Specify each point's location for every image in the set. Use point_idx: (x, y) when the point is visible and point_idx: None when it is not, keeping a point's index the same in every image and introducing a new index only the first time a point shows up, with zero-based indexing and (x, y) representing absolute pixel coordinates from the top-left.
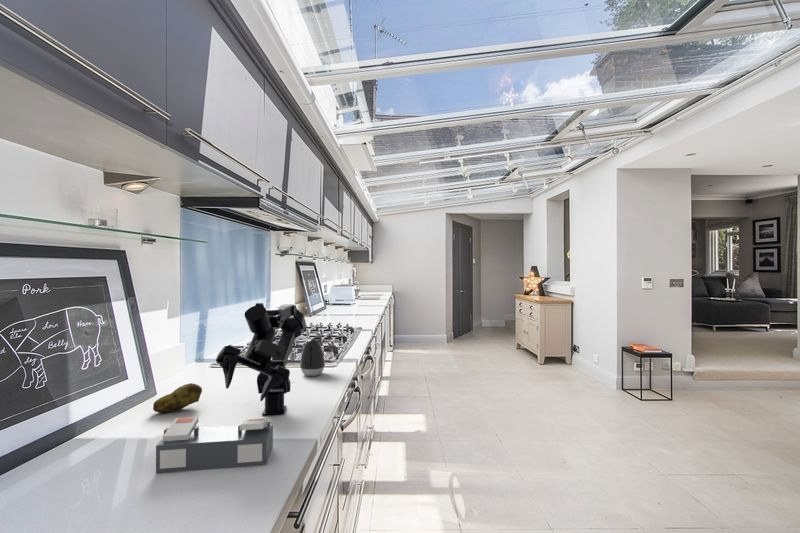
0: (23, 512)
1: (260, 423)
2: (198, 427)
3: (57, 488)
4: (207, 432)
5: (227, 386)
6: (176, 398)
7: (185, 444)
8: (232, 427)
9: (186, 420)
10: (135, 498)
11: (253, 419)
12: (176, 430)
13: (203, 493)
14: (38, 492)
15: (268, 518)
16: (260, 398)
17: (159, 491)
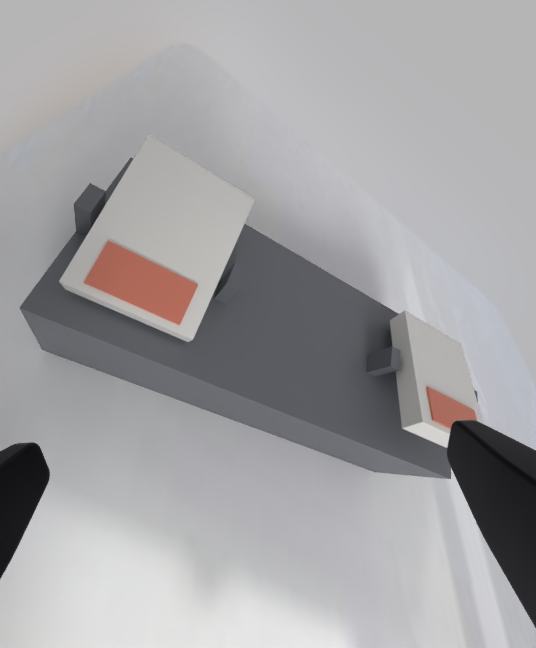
0: (501, 335)
1: (160, 141)
2: (387, 364)
3: (504, 396)
4: (340, 368)
5: (471, 421)
6: None
7: (384, 308)
8: (250, 370)
9: (449, 406)
10: (390, 276)
11: (161, 294)
12: (444, 355)
13: (287, 208)
14: (519, 396)
15: (182, 50)
16: (31, 510)
17: (361, 274)
